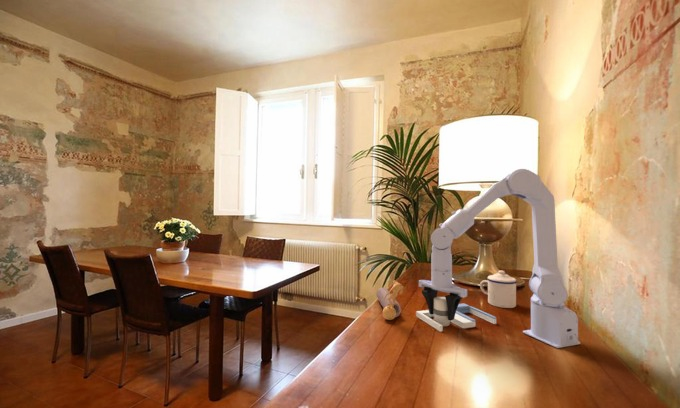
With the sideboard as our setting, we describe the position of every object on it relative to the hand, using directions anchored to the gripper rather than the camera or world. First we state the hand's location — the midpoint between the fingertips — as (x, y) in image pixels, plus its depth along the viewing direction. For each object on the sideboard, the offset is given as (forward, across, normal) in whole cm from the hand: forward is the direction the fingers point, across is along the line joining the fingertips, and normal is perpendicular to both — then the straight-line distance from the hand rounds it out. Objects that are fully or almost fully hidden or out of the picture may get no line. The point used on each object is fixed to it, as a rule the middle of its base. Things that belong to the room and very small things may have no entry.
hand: (441, 316), depth 86 cm
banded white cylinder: (+2, 0, 0) cm, 2 cm away
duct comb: (+2, -1, -5) cm, 6 cm away
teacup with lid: (+2, -2, -32) cm, 32 cm away
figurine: (+2, +10, +10) cm, 14 cm away
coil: (+2, +18, +3) cm, 19 cm away
